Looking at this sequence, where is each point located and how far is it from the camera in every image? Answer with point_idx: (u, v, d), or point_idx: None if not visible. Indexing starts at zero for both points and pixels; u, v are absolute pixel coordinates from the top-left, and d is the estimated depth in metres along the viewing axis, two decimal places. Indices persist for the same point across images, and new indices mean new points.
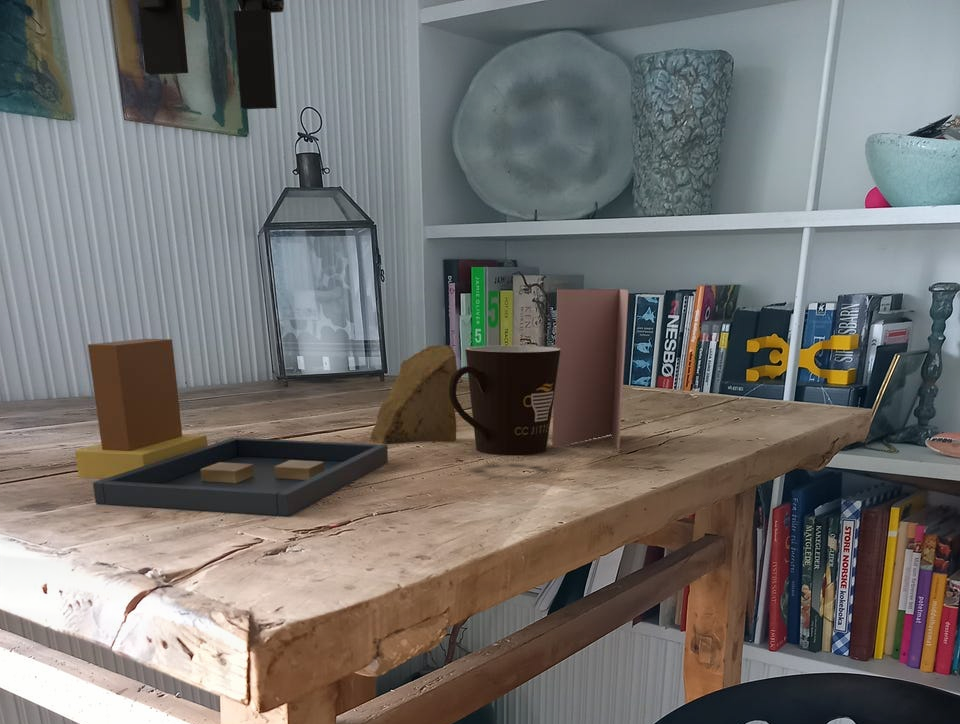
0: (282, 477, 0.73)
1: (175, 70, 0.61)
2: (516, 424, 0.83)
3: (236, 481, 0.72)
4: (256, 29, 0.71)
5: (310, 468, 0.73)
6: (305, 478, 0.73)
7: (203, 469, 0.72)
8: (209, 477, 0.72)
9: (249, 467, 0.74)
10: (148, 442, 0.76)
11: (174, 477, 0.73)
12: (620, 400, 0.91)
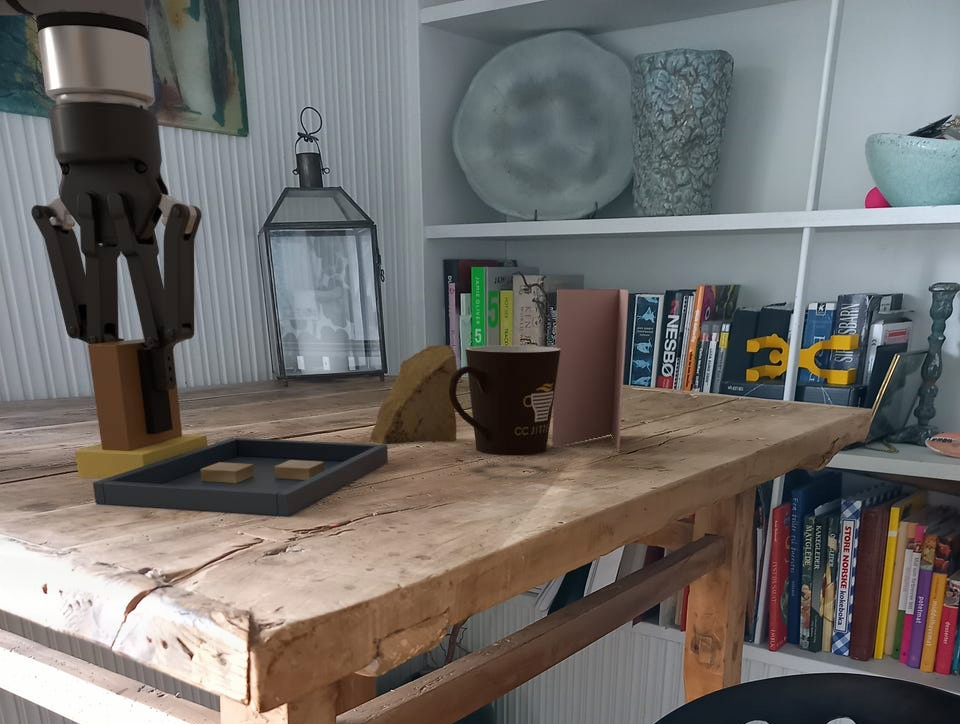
0: (282, 477, 0.73)
1: (169, 429, 0.77)
2: (516, 424, 0.83)
3: (236, 481, 0.72)
4: None
5: (310, 468, 0.73)
6: (305, 478, 0.73)
7: (203, 469, 0.72)
8: (209, 477, 0.72)
9: (249, 467, 0.74)
10: (148, 442, 0.76)
11: (174, 477, 0.73)
12: (620, 400, 0.91)
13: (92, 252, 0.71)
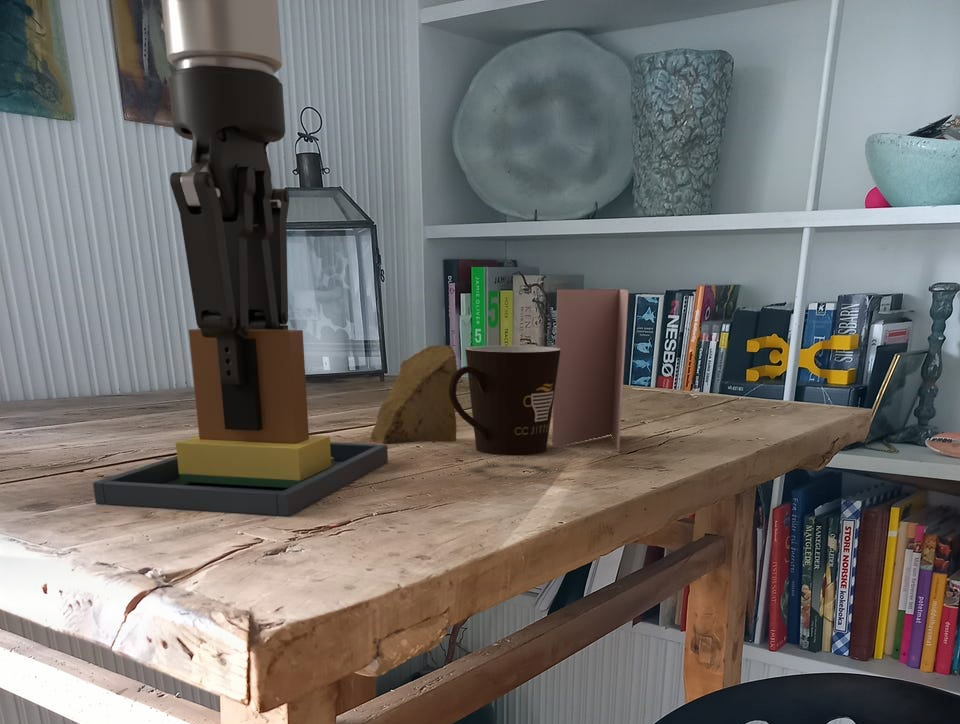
0: None
1: None
2: (516, 424, 0.83)
3: None
4: None
5: None
6: None
7: None
8: None
9: None
10: None
11: (174, 477, 0.73)
12: (620, 400, 0.91)
13: (250, 232, 0.65)
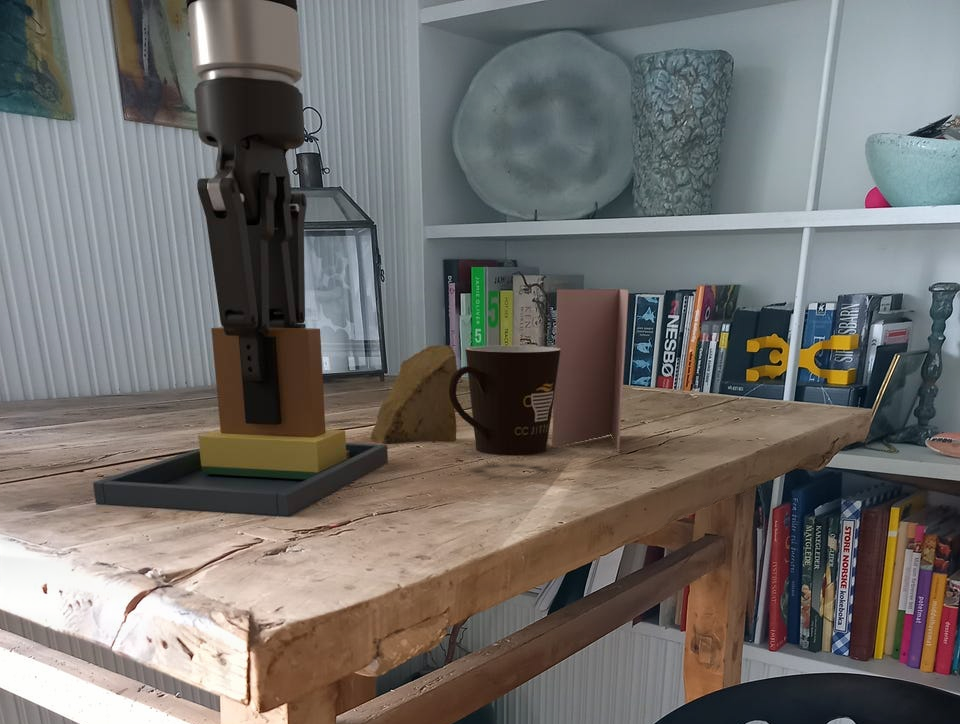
0: None
1: None
2: (516, 424, 0.83)
3: None
4: None
5: None
6: None
7: None
8: None
9: None
10: None
11: (174, 477, 0.73)
12: (620, 400, 0.91)
13: (271, 235, 0.68)
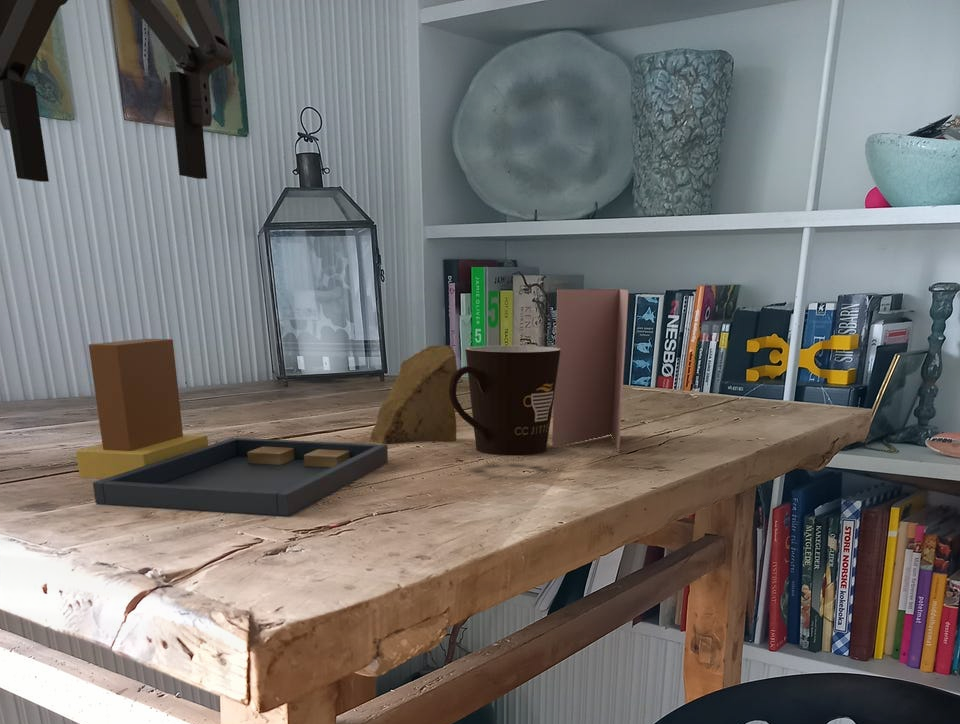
0: (311, 465, 0.78)
1: (203, 177, 0.70)
2: (516, 424, 0.83)
3: (280, 463, 0.79)
4: (29, 103, 0.70)
5: (337, 456, 0.78)
6: (333, 466, 0.78)
7: (249, 452, 0.79)
8: (255, 460, 0.79)
9: (290, 451, 0.81)
10: (149, 442, 0.76)
11: (174, 477, 0.73)
12: (620, 400, 0.91)
13: None
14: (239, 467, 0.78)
